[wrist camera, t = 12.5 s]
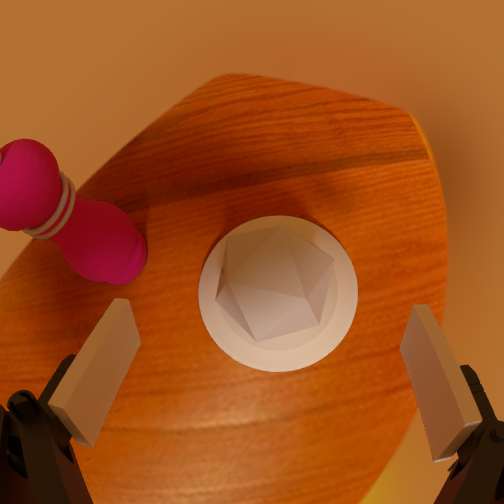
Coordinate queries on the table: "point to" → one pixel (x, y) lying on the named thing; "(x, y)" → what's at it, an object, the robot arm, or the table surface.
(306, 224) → the plate
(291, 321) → the die
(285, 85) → the table surface
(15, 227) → the pepper mill
